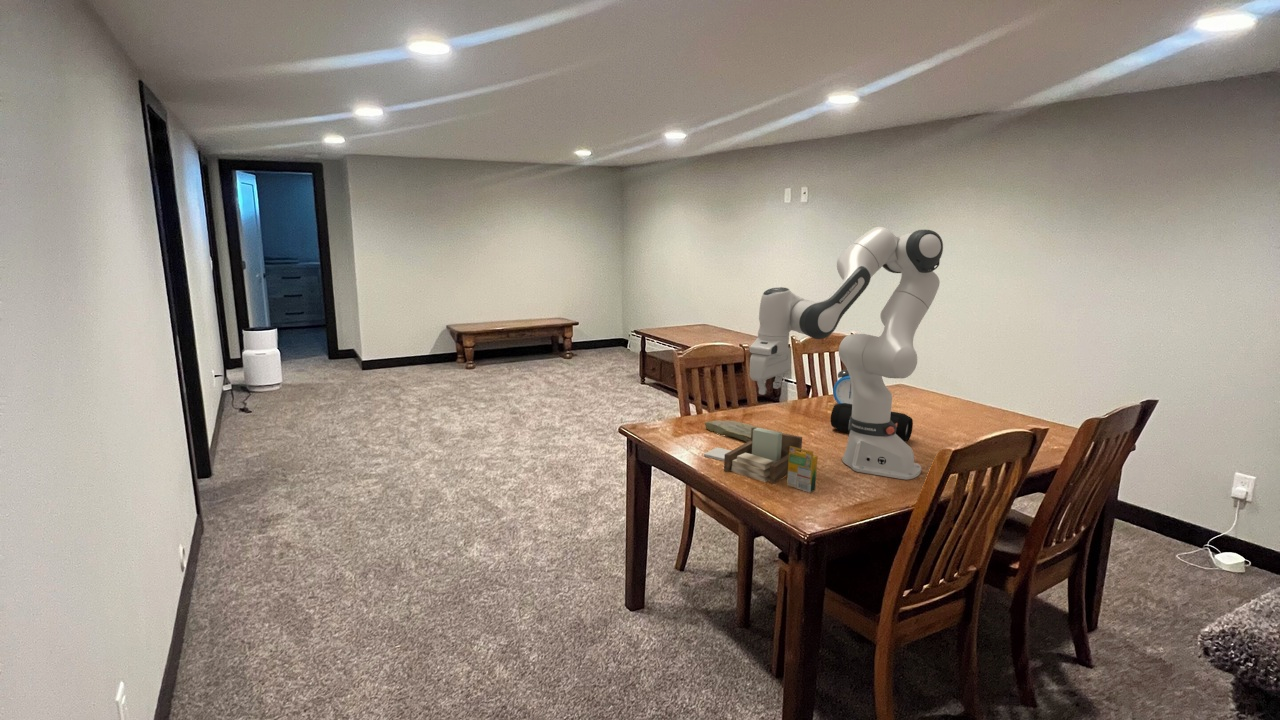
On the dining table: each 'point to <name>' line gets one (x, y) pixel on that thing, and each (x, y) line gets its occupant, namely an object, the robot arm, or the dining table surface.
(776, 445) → the pale green block
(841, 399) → the alarm clock
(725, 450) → the grey plate
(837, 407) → the portable speaker
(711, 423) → the stone slab
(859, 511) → the dining table surface
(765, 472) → the offcut stack
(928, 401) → the dining table surface
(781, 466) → the walnut corral
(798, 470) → the crayon box
